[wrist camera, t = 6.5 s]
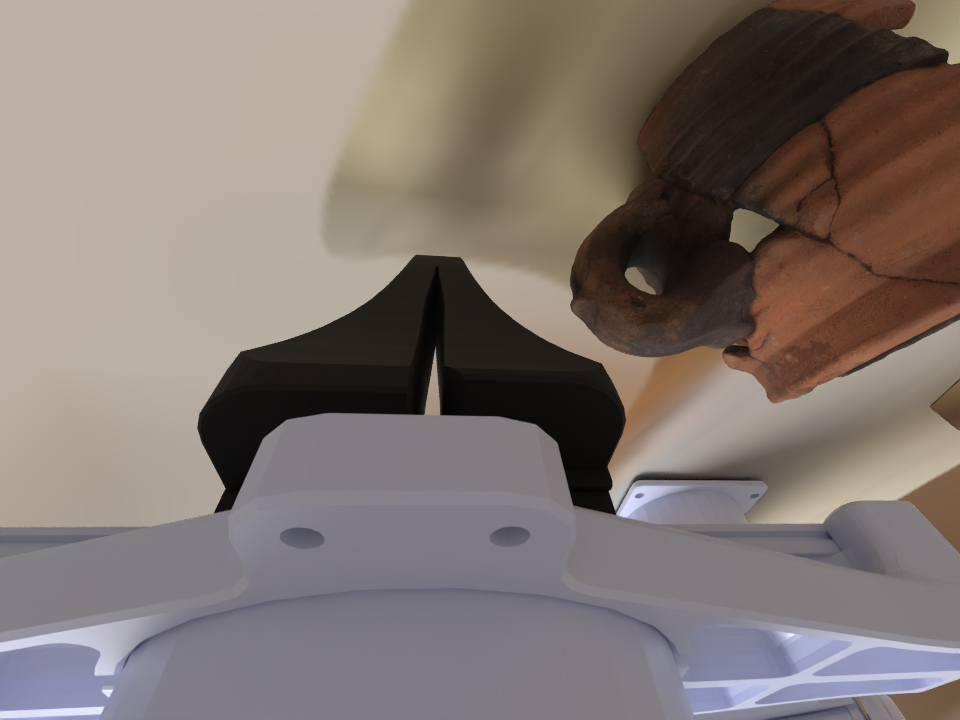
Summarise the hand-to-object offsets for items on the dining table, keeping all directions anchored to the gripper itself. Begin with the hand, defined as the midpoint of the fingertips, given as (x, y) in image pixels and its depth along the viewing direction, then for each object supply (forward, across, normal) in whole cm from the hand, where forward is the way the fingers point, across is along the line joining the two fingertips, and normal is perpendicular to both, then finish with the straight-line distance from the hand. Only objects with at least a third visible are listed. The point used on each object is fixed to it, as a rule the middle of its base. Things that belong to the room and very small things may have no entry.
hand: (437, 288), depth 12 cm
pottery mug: (+3, -9, -2) cm, 10 cm away
